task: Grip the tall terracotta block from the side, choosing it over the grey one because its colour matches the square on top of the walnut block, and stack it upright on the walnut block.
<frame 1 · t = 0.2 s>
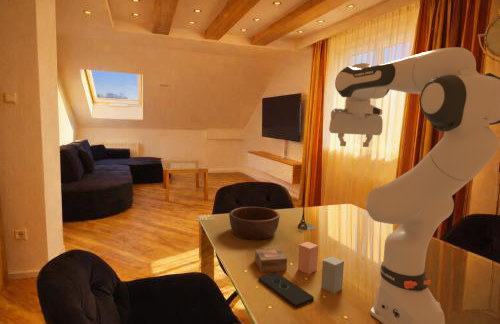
hand: (354, 146, 120), 47 cm above the table, tool pointing down, fingers open, 8 cm apart
walnut base block: (270, 266, 125), on the table
wooden bowl: (253, 233, 160), on the table
terracotta block: (307, 270, 122), on the table
eiffel tower figurine: (303, 228, 170), on the table
grey block: (331, 288, 109), on the table
smart home device: (284, 291, 107), on the table
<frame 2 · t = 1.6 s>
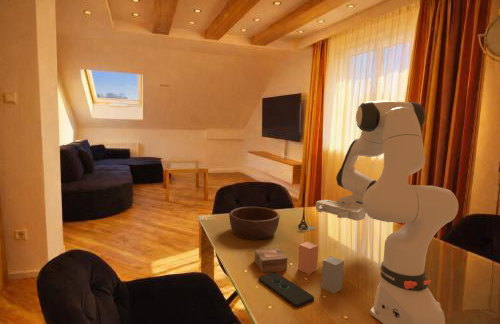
hand: (328, 212, 128), 20 cm above the table, tool horizontal, fingers open, 8 cm apart
nothing on the table moved.
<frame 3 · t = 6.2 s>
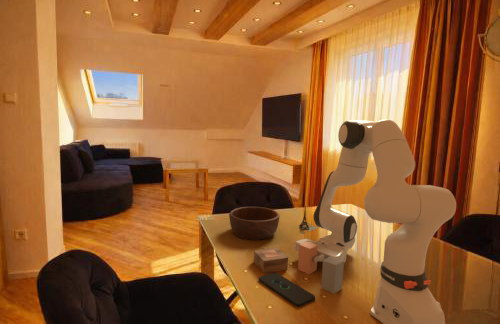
hand: (306, 256, 121), 6 cm above the table, tool horizontal, fingers closed on terracotta block, 5 cm apart
terracotta block: (307, 269, 122), on the table, touching gripper
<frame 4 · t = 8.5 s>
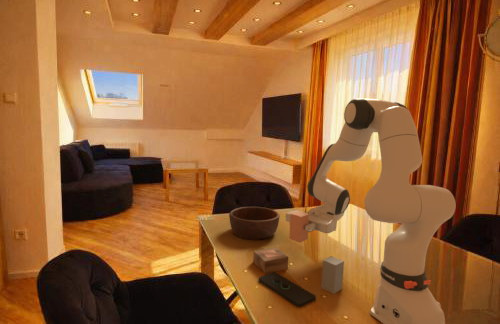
hand: (297, 225, 121), 17 cm above the table, tool horizontal, fingers closed on terracotta block, 5 cm apart
terracotta block: (298, 238, 123), point 11 cm above the table, touching gripper
when the fingers open (12 cm above the table, at t = 10.8 s): terracotta block drops 2 cm, resting on walnut base block.
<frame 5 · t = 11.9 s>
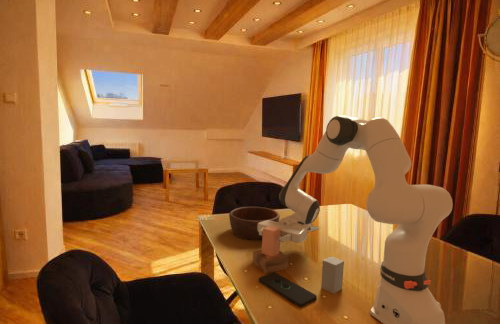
hand: (270, 236, 123), 12 cm above the table, tool horizontal, fingers open, 8 cm apart
walnut base block: (270, 266, 125), on the table, touching terracotta block
terracotta block: (270, 253, 124), point 5 cm above the table, touching walnut base block
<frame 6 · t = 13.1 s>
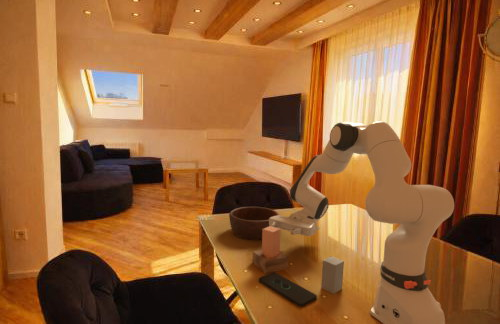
hand: (282, 230, 130), 12 cm above the table, tool horizontal, fingers open, 8 cm apart
walnut base block: (269, 266, 125), on the table
terracotta block: (270, 253, 124), point 5 cm above the table
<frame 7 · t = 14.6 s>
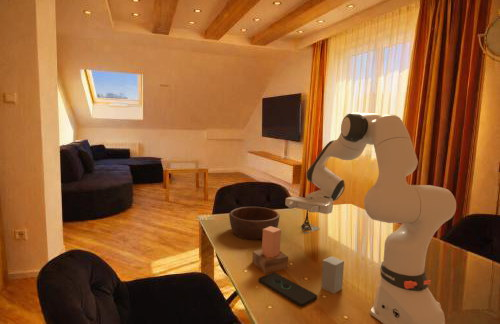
hand: (299, 208, 132), 21 cm above the table, tool horizontal, fingers open, 8 cm apart
walnut base block: (269, 265, 125), on the table, touching terracotta block
terracotta block: (270, 253, 124), point 5 cm above the table, touching walnut base block
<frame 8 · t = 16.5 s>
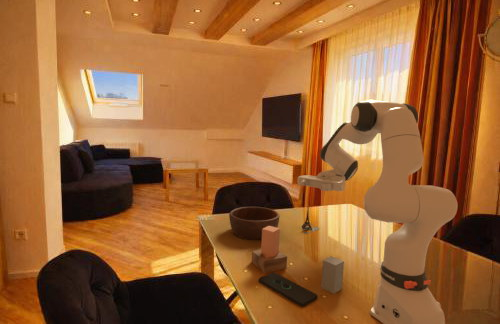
hand: (312, 185, 132), 30 cm above the table, tool horizontal, fingers open, 8 cm apart
walnut base block: (268, 265, 125), on the table
terracotta block: (269, 253, 125), point 5 cm above the table
at the end: terracotta block 0.4 cm off-centre on the walnut base block, point 5.2 cm above the walnut base block's base; terracotta block tilted 2°; the gripper is holding nothing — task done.
